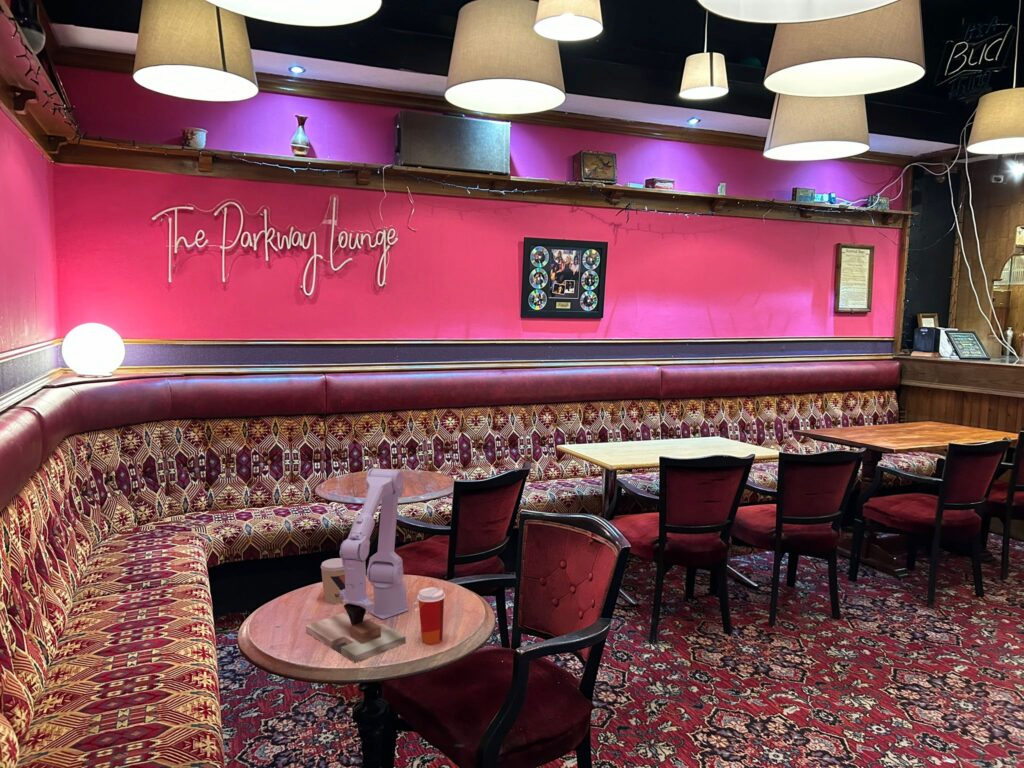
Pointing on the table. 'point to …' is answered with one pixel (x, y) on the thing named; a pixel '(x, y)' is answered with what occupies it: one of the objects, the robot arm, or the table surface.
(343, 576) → the coffee cup
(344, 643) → the board
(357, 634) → the walnut block
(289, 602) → the table surface
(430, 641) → the paper cup
